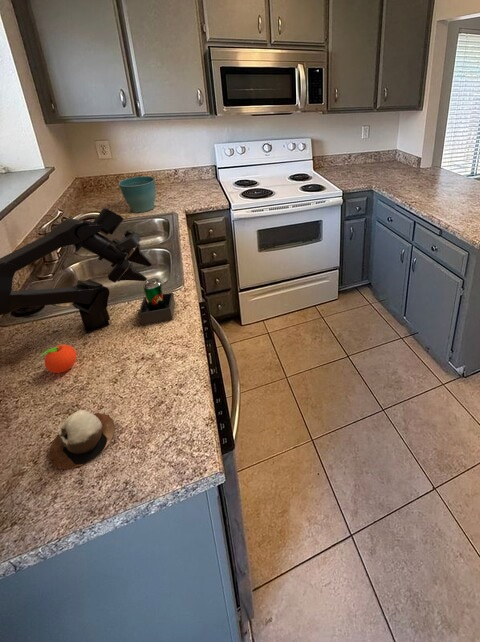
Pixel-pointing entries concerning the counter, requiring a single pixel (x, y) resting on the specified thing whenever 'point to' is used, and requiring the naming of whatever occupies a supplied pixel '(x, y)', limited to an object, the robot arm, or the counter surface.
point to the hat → (81, 439)
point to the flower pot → (139, 193)
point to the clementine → (60, 358)
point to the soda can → (154, 294)
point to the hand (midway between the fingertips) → (148, 272)
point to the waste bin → (157, 311)
